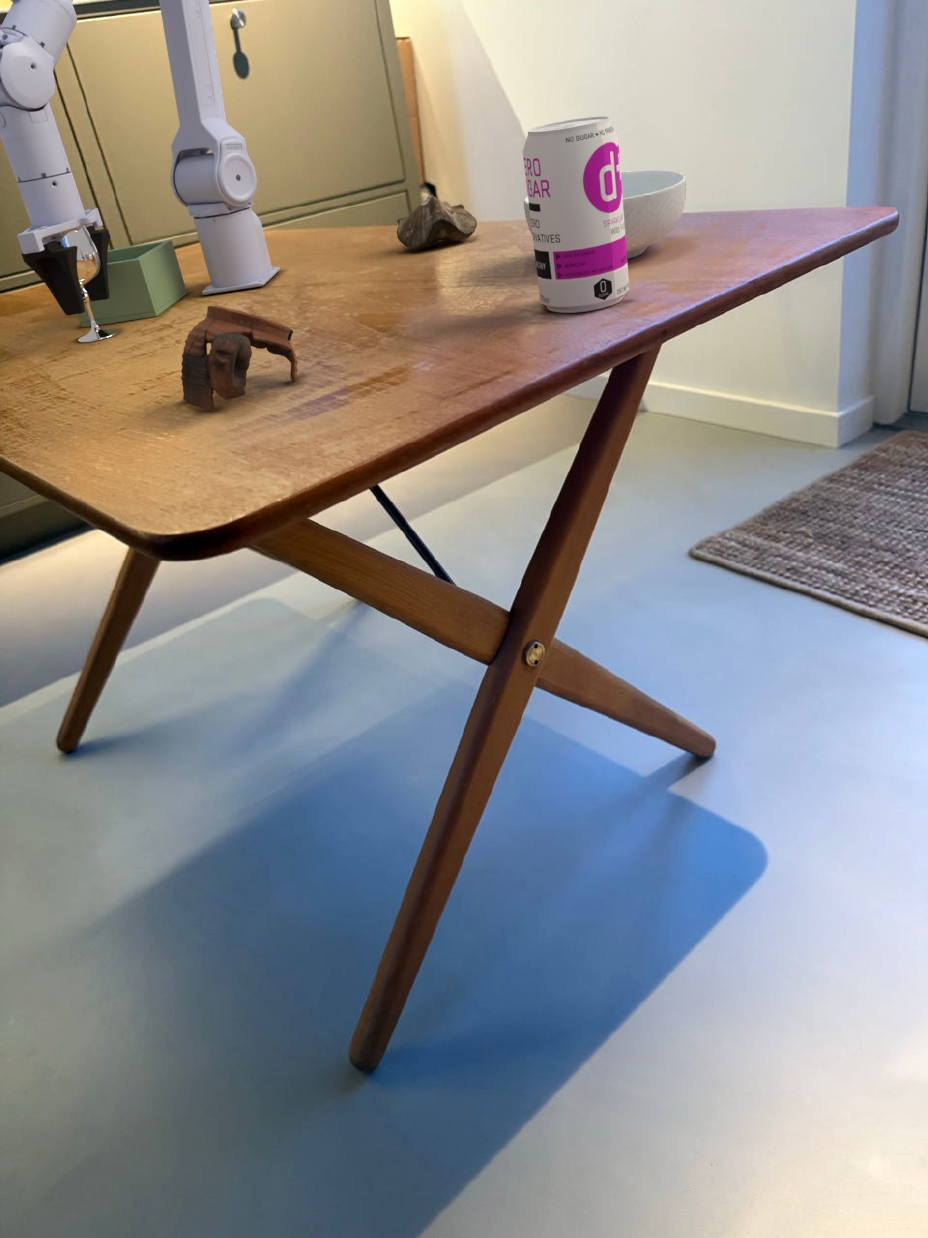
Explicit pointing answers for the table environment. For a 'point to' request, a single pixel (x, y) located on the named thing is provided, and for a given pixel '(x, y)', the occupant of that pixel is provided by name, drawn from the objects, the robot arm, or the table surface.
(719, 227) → the table surface
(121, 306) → the bin
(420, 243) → the fossilized seashell
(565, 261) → the supplement can
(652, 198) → the cereal bowl
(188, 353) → the reddish-brown arched part
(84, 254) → the wineglass
